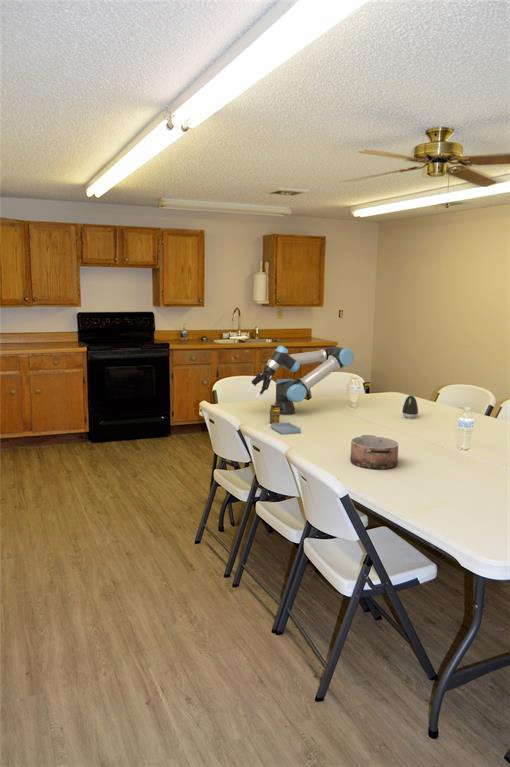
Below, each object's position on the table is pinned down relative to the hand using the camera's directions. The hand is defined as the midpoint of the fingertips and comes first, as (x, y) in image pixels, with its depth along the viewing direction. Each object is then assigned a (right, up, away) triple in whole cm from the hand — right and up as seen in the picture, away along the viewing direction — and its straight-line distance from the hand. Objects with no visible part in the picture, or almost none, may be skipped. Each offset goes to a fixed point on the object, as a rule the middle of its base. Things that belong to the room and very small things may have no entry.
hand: (252, 395), depth 368 cm
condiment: (+13, -18, -10) cm, 24 cm away
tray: (+19, -20, -26) cm, 39 cm away
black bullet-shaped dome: (+105, -16, +18) cm, 107 cm away
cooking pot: (+59, -31, -87) cm, 110 cm away
